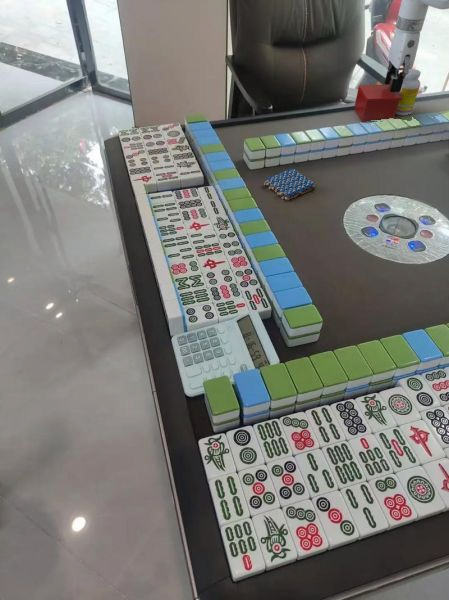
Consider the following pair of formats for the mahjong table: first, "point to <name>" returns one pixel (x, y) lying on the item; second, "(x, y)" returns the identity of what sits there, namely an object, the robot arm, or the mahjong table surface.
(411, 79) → the supplement bottle
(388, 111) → the box
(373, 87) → the lid
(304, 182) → the woven mat
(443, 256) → the mahjong table surface
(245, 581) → the mahjong table surface
